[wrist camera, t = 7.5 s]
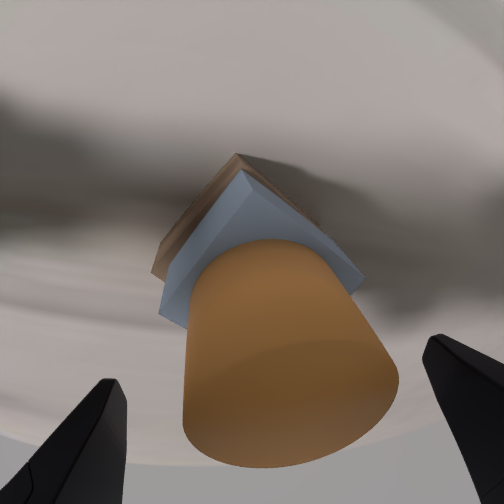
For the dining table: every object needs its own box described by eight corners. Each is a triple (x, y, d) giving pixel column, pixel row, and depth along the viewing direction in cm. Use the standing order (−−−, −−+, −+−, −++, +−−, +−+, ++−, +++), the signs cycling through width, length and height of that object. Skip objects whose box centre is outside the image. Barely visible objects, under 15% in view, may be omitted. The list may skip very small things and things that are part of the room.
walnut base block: (245, 300, 18) (253, 338, 15) (161, 241, 16) (150, 272, 13) (318, 225, 17) (342, 252, 14) (235, 152, 15) (242, 162, 12)
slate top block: (260, 319, 15) (273, 371, 12) (169, 265, 13) (158, 313, 10) (331, 239, 13) (365, 278, 10) (240, 168, 12) (253, 189, 9)
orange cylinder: (265, 380, 12) (287, 478, 8) (159, 317, 10) (139, 431, 6) (363, 297, 11) (427, 389, 7) (264, 204, 9) (311, 290, 5)
